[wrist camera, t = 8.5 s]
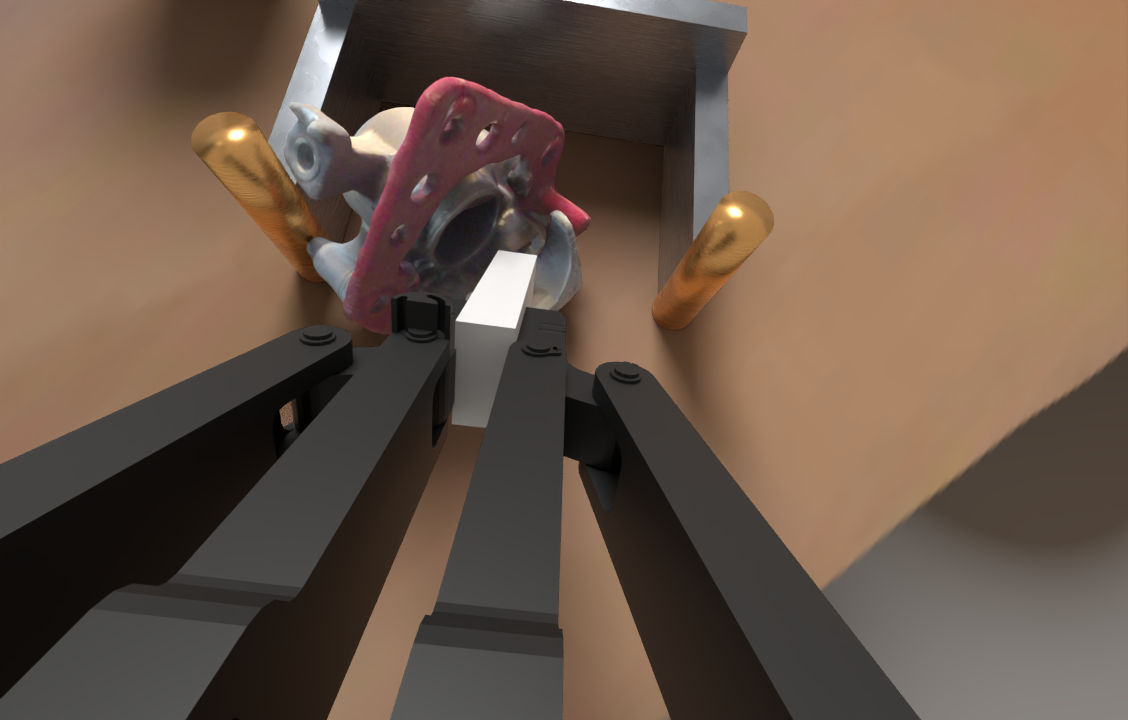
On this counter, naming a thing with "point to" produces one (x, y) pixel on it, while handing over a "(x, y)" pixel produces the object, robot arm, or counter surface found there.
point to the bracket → (538, 80)
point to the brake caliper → (439, 198)
